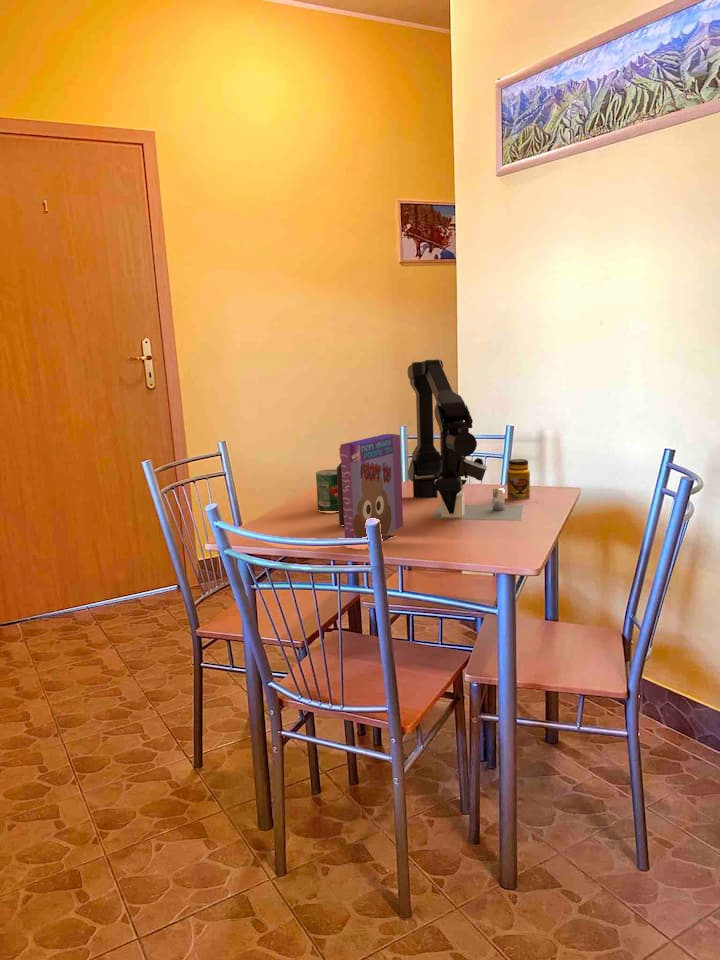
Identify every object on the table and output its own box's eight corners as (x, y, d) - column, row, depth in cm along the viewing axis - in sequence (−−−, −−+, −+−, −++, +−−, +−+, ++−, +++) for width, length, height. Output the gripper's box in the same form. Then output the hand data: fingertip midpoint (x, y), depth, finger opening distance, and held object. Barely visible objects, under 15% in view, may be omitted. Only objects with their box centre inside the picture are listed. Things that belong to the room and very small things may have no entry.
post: (492, 512, 184) (492, 490, 183) (493, 509, 187) (493, 487, 186) (504, 512, 183) (504, 490, 182) (504, 510, 186) (504, 487, 185)
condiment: (517, 506, 194) (517, 463, 192) (496, 501, 201) (496, 459, 199) (537, 502, 198) (537, 460, 195) (515, 497, 205) (515, 456, 202)
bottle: (369, 521, 184) (365, 445, 180) (361, 528, 178) (358, 449, 174) (344, 521, 186) (340, 445, 182) (335, 527, 180) (331, 449, 176)
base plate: (431, 524, 179) (431, 518, 178) (440, 509, 194) (440, 504, 194) (520, 526, 173) (520, 520, 173) (522, 511, 188) (522, 505, 188)
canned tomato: (320, 507, 203) (318, 469, 201) (347, 506, 202) (345, 468, 200) (315, 514, 195) (313, 474, 193) (344, 513, 194) (342, 474, 192)
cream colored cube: (441, 517, 179) (441, 495, 178) (444, 512, 184) (443, 491, 183) (462, 517, 178) (461, 495, 177) (464, 512, 183) (464, 491, 182)
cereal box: (362, 550, 159) (357, 444, 154) (345, 547, 162) (340, 443, 157) (403, 532, 173) (400, 434, 168) (386, 529, 176) (383, 433, 171)
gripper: (481, 456, 167) (481, 520, 170) (487, 444, 185) (487, 503, 188) (434, 456, 170) (435, 519, 173) (444, 445, 187) (445, 502, 190)
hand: (453, 511), depth 181 cm, fingers closed on cream colored cube, 5 cm apart
